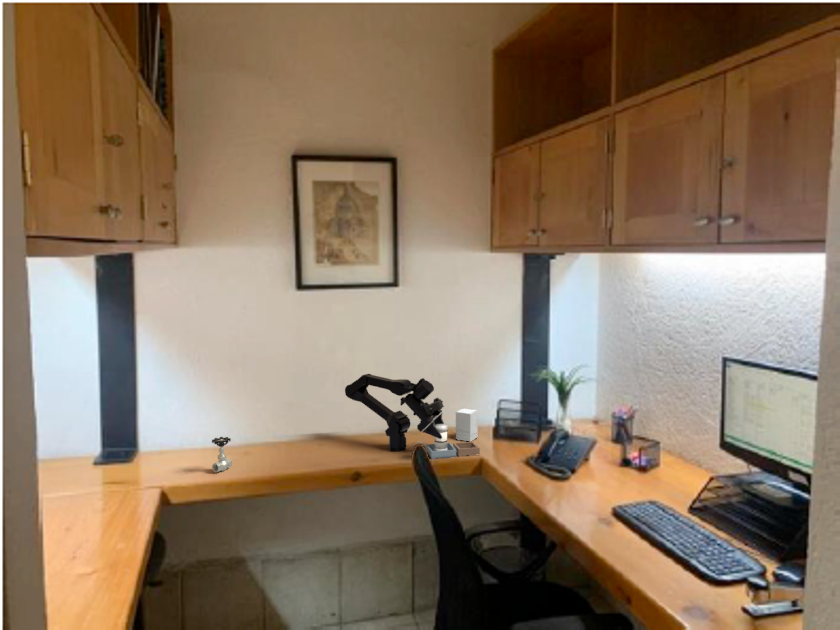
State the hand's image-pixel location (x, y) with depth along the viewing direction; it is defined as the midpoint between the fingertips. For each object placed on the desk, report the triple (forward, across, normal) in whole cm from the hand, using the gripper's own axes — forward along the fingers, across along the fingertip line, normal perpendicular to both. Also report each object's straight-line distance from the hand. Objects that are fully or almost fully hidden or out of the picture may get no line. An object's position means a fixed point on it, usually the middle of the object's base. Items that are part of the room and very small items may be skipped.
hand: (444, 435), depth 254 cm
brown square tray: (+11, +5, 0) cm, 12 cm away
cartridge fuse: (+4, 0, +6) cm, 7 cm away
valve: (-47, -40, +59) cm, 86 cm away
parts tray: (+5, 0, +7) cm, 8 cm away
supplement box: (+9, +23, +3) cm, 25 cm away
